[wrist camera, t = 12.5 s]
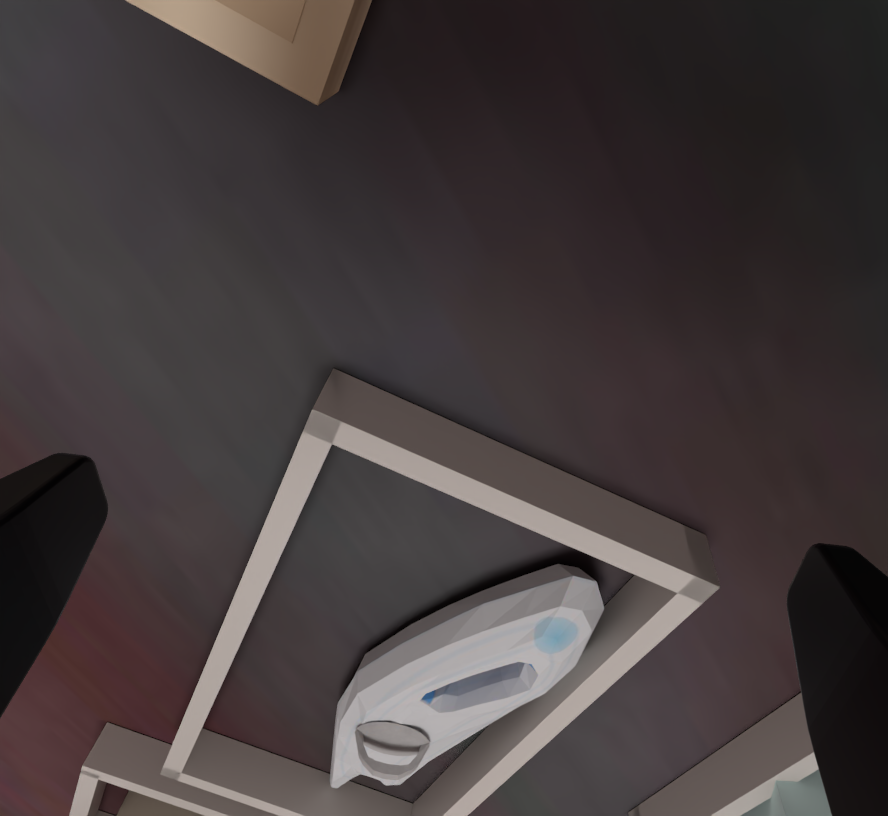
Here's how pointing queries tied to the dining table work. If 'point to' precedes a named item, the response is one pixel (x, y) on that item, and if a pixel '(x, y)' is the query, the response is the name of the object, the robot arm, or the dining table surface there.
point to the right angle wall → (795, 799)
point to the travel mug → (150, 807)
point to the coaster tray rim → (741, 769)
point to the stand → (275, 36)
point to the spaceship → (461, 672)
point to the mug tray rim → (143, 777)
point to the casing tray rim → (497, 491)
